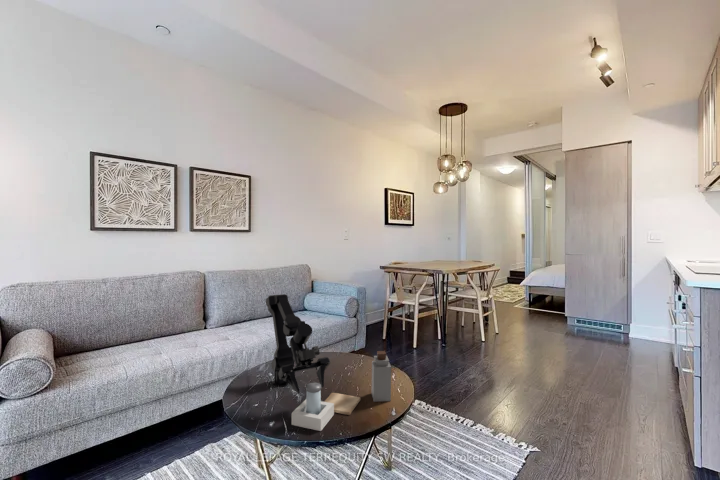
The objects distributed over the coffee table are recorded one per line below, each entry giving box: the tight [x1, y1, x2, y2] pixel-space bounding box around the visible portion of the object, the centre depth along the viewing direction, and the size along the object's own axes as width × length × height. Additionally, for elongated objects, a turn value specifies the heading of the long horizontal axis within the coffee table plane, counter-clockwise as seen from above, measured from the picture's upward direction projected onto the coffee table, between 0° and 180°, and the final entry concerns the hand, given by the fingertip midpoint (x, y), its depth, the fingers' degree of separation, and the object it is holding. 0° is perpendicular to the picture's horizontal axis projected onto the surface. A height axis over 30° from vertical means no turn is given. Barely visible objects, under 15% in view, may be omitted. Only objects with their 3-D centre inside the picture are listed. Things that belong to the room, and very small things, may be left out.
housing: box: [291, 399, 335, 432], centre depth 120 cm, size 11×11×4 cm
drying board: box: [323, 392, 361, 416], centre depth 131 cm, size 12×12×1 cm
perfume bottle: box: [371, 350, 392, 403], centre depth 137 cm, size 7×7×18 cm
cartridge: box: [305, 382, 322, 415], centre depth 120 cm, size 5×5×12 cm
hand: (311, 390), depth 122 cm, fingers open, 9 cm apart
